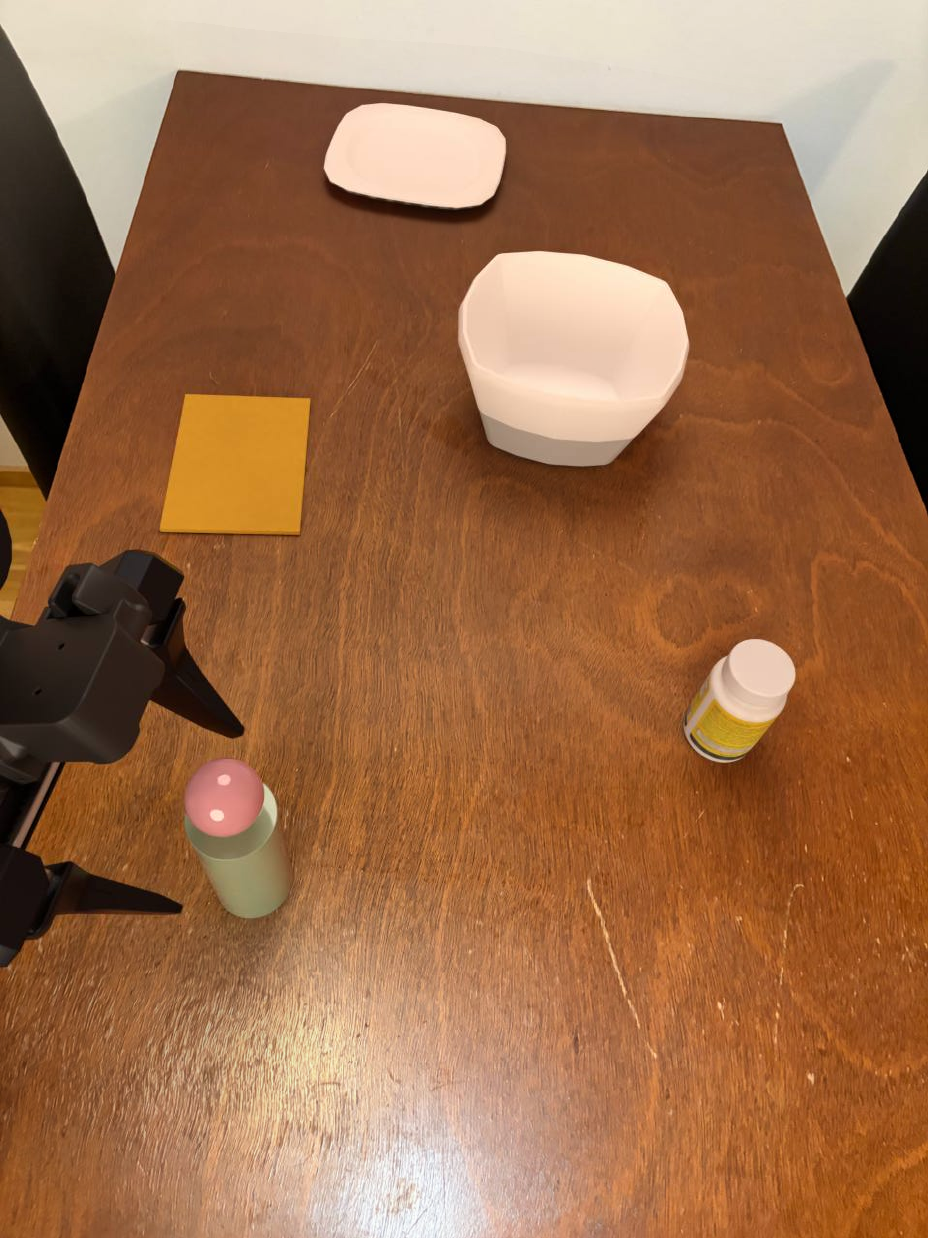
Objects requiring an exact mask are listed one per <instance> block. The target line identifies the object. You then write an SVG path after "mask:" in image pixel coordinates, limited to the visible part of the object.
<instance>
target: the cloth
mask: <svg viewBox="0 0 928 1238" xmlns="http://www.w3.org/2000/svg"><path fill="white" fill-rule="evenodd" d="M183 399H184V400H183V403H182V409H181V415H180V420H179V425H178V426H179V427H178V429H177V430H178V431H177V436H176V441H175V446H174V451H173V457H172V462H171V467H170V473H169V477H168V482H167V487H166V491H165V492H166V493H165V496H164V497H165V498H164V503H163V509H162V512H161V513H162V514H161V519H160V523H159V532H160V533H193V534H194V533H195V534H196V533H198V534H199V533H202V534H204V533H205V534H239V535H241V534H242V535H243V534H244V535H249V534H250V535H285V536H286V535H289V536H290V535H291V536H300V535H301V530H302V518H303V507H304V506H303V505H304V493H305V479H306V466H307V454H308V441H309V429H310V417H311V404H312V400H311V398H309V397H308V398H306V397H283V396H281V397H280V396H254V395H251V396H250V395H222V394H200V393H199V394H198V393H197V394H195V393H185V394H184V398H183Z"/></svg>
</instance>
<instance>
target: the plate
mask: <svg viewBox="0 0 928 1238" xmlns="http://www.w3.org/2000/svg"><path fill="white" fill-rule="evenodd" d="M506 155H507V142H506V136H504V134H503V133H502V131H501V130H500V128H498V127H497V126H496V125H494V124H492V123H491V122H488V121H485V120H483V119H482V118H480V117H475V116H471V115H466V114H462V113H457V112H452V111H446V110H441V109H434V108H429V107H421V106H416V105H415V106H414V105H407V104H399V103H398V104H397V103H385V102H379V103H369V104H368V103H367V104H361V105H359V106H357V107H355V108H354V109H352V110H350V111H348V112H347V113H345V115H344V116H343V117H342V120H341V121H340V122H339V123H338V125H337V127H336V129H335V131H334V134H333V136H332V138H331V140H330V143H329V145H328V147H327V151H326V153H325V158H324V163H323V164H324V165H323V171H324V173H325V176H326V177H327V179H328V181H329V183H330V184H332V185H333V186H336V187H337V188H339V189H341V190H343V191H345V192H347V193H348V194H352V195H356V196H361V197H364V198H369V199H373V200H378V201H384V202H389V203H395V204H401V205H408V206H415V207H422V208H427V209H439V210H440V209H441V210H454V211H458V210H467V209H473V208H480V207H481V206H483V205H484V204H485V203H487V202H488V201H489V200H491V199H492V198H494V197H495V194H496V192H497V190H498V188H499V185H500V183H501V179H502V175H503V171H504V166H505V162H506V161H505V159H506Z"/></svg>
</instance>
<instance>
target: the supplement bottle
mask: <svg viewBox="0 0 928 1238" xmlns="http://www.w3.org/2000/svg"><path fill="white" fill-rule="evenodd" d="M795 681H796V668H795V665H794V662H793V660H792V659H791V657H790V656H789V654H788V653H787V652H786V651H785V650H784V649H782V647H780V646H779V645H777V644H775V643H773V642H771V641H769V640H765V639H759V638H749V639H746V640H743V641H740V642H739V643H737V644H736V645H735V646H733V648H731V650H730V652H729V653H728V655H726V656H724V657H722V658H721V659H719V660H718V661H717V662H716V663H715V664H714V665H713V667H712V668H711V670H710V672H709V674H708V675H707V676H706V678H705V680H704V682H703V683H702V685H701V687H700V688H699V690H698V691H697V693H696V695H695V696H694V698H693V700H692V701H691V703H690V704H689V706H688V708H687V709H686V712H685V714H684V716H683V721H682V722H683V724H682V725H683V732H684V736H685V737H686V739H687V742H688V743H689V744H690V746H691V747H692V748H693V750H695V752H697V753H698V754H699V755H700V756H702V757H704V758H705V759H707V760H710V761H713V762H716V763H722V764H723V763H724V764H725V763H732V762H733V763H734V762H737V761H739V760H741V759H743V758H744V757H746V756H747V755H748V754H749V753H750V752H751V751H752V749H753V748H754V746H756V744H757V743H758V742H759V740H760V739H761V738H762V737H763V735H764V734H765V733H766V731H767V730H768V729H769V728H770V726H772V724H773V723H774V722H775V720H776V719H777V718H778V717H779V715H780V714H781V713H782V711H783V710H784V708H785V705H786V703H787V699H788V694H789V692H790V691H791V689H792V687H793V686H794V684H795Z"/></svg>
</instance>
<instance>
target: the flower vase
mask: <svg viewBox="0 0 928 1238" xmlns="http://www.w3.org/2000/svg"><path fill="white" fill-rule="evenodd" d="M183 807H184V811H185V813H184V819H183V820H184V821H183V822H184V823H183V824H184V831H185V835H186V837H187V839H188V841H189V843H190V845H191V848H192V850H193V852H194V854H195V856H196V857H197V859H198V861H199V864H200V865H201V867H202V870H203V871H204V873H205V876H206V878H207V880H208V882H209V884H210V885H211V887H212V889H213V891H214V894H215V895H216V897H217V899H218V901H219V903H220V905H221V906H222V907H223V908H224V909H225V910H226V911H227V912H229V913H230V914H232V915H234V916H236V917H239V918H243V919H257V918H261V917H264V916H267V915H270V914H271V913H273V912H274V911H276V910H278V909H279V908H280V907H281V906H282V905H283V903H285V901H286V900H287V898H288V896H289V894H290V892H291V890H292V887H293V882H294V869H293V866H292V860H291V857H290V853H289V849H288V844H287V840H286V836H285V832H284V828H283V824H282V819H281V815H280V812H279V811H280V810H279V806H278V802H277V800H276V797H275V795H274V793H273V791H272V790H271V789H270V788H269V786H268V785H267V784H266V783H265V782H264V781H262V779H261V777H260V775H259V773H258V772H257V771H256V770H255V768H254V767H252V766H251V765H250V764H249V763H247V762H245V761H243V760H240V759H238V758H234V757H220V758H214V759H211V760H209V761H207V762H205V763H203V764H202V765H200V766H199V767H198V768H197V769H196V770H195V771H193V773H192V774H191V775H190V777H189V778H188V781H187V783H186V785H185V788H184V791H183Z"/></svg>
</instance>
